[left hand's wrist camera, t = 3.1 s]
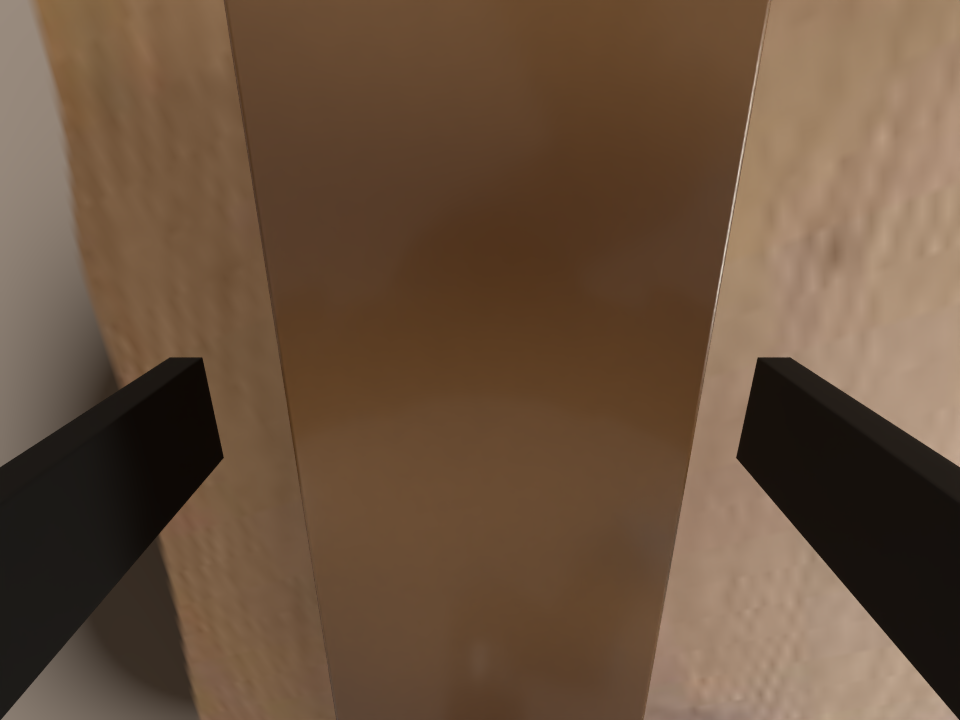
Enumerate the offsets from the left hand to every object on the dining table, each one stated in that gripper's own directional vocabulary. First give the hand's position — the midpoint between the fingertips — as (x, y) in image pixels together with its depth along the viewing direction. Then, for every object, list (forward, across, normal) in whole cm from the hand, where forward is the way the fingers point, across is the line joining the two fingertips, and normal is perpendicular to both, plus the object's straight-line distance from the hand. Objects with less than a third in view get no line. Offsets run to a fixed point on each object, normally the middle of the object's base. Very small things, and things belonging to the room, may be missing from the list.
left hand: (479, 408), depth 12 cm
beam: (+3, 0, -22) cm, 22 cm away
